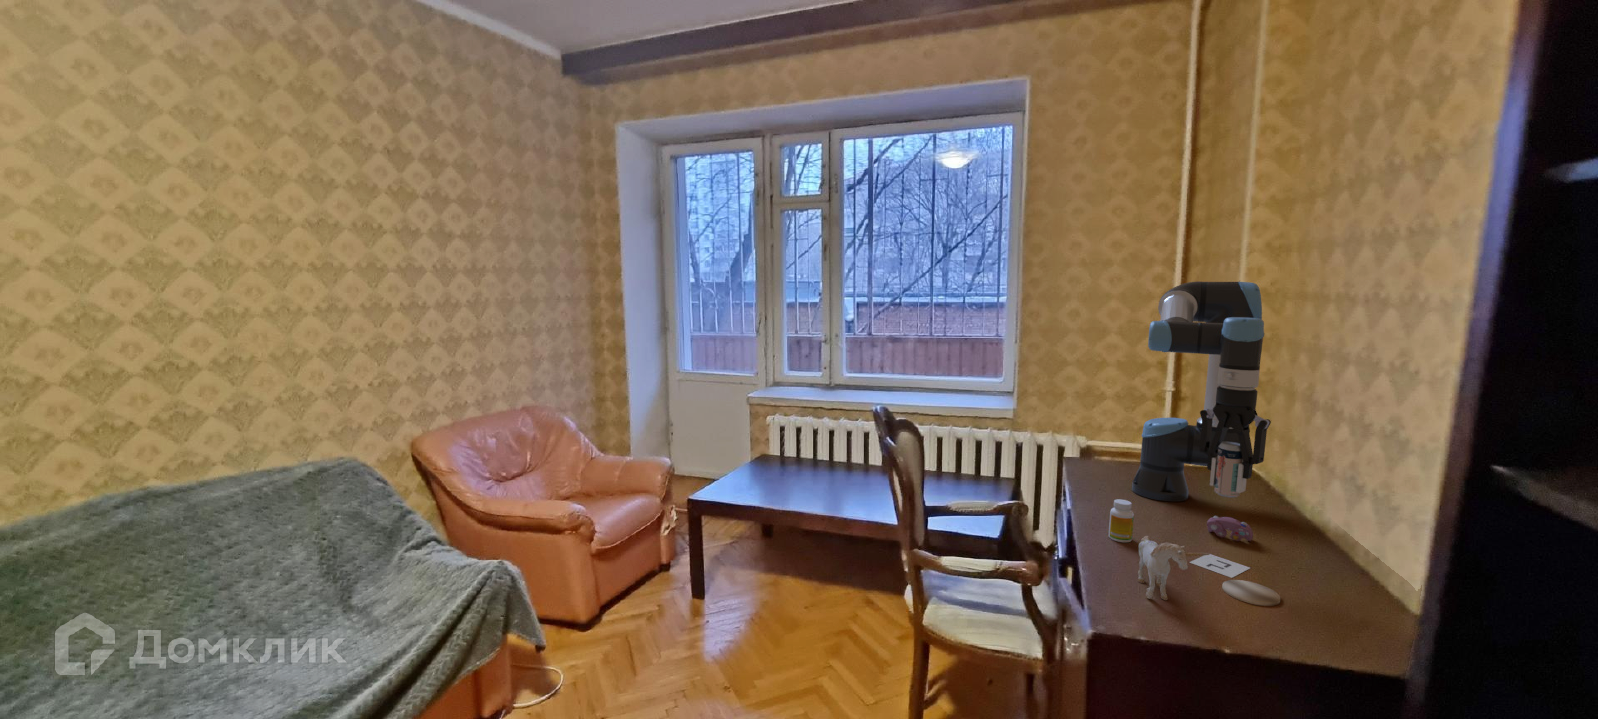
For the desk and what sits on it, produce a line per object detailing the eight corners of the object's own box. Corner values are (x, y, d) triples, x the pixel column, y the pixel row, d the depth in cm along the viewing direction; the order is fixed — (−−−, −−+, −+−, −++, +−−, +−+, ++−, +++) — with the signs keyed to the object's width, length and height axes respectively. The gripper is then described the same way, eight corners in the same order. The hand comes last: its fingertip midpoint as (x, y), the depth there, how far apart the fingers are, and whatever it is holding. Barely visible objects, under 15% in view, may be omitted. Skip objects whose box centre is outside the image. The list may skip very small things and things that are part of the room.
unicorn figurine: (1167, 619, 125) (1173, 554, 123) (1115, 573, 144) (1119, 516, 142) (1203, 618, 125) (1210, 553, 123) (1146, 572, 144) (1151, 515, 142)
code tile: (1208, 553, 154) (1208, 553, 154) (1250, 568, 147) (1250, 567, 147) (1189, 562, 149) (1189, 562, 149) (1231, 577, 142) (1231, 577, 142)
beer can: (1217, 489, 149) (1221, 439, 147) (1241, 495, 146) (1246, 443, 144) (1211, 494, 146) (1216, 443, 144) (1236, 500, 142) (1241, 447, 141)
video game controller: (1205, 539, 166) (1204, 519, 163) (1208, 527, 169) (1208, 507, 166) (1251, 550, 160) (1251, 530, 157) (1254, 537, 163) (1254, 517, 159)
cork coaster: (1235, 578, 142) (1235, 575, 142) (1288, 597, 133) (1289, 594, 133) (1213, 590, 136) (1213, 587, 136) (1267, 610, 128) (1267, 608, 128)
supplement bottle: (1134, 543, 160) (1137, 506, 158) (1111, 541, 161) (1114, 504, 159) (1128, 535, 165) (1131, 499, 164) (1105, 533, 166) (1108, 497, 165)
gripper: (1186, 382, 148) (1178, 480, 151) (1276, 395, 133) (1264, 503, 136) (1202, 379, 152) (1194, 474, 155) (1291, 391, 137) (1280, 496, 140)
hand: (1227, 487), depth 146 cm, fingers closed on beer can, 5 cm apart
